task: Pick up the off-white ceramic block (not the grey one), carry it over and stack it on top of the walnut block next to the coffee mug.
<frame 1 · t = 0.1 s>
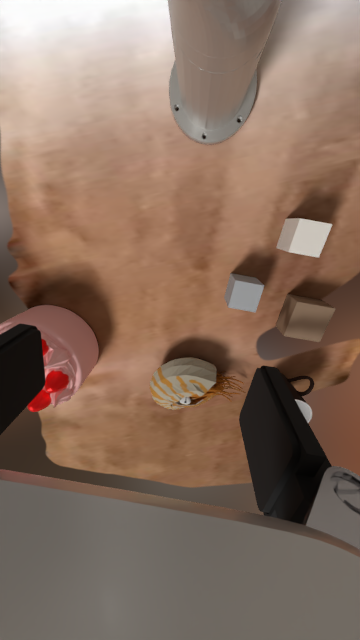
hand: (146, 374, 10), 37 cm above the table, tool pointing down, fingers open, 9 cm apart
cake: (58, 342, 53), on the table
coffee mug: (278, 380, 54), on the table
walnut block: (297, 312, 47), on the table
grey block: (239, 287, 45), on the table
ceramic block: (294, 236, 41), on the table
nautilus: (197, 376, 55), on the table
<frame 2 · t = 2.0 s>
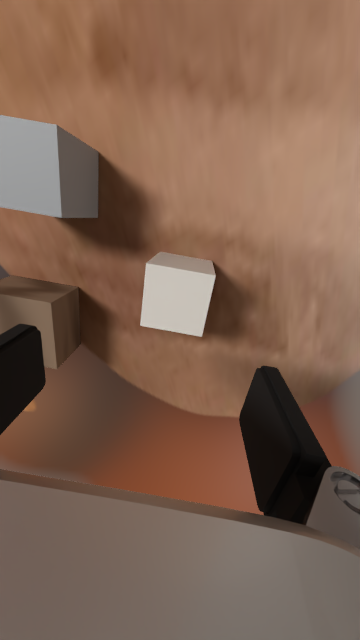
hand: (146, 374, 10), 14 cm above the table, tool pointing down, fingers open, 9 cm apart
walnut block: (49, 311, 25), on the table
grey block: (70, 181, 20), on the table
ceramic block: (181, 281, 23), on the table
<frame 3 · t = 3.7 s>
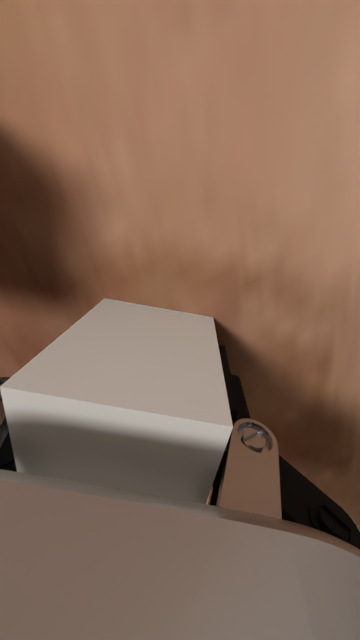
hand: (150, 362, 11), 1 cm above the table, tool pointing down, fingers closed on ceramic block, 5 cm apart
ceramic block: (152, 354, 11), on the table, touching gripper
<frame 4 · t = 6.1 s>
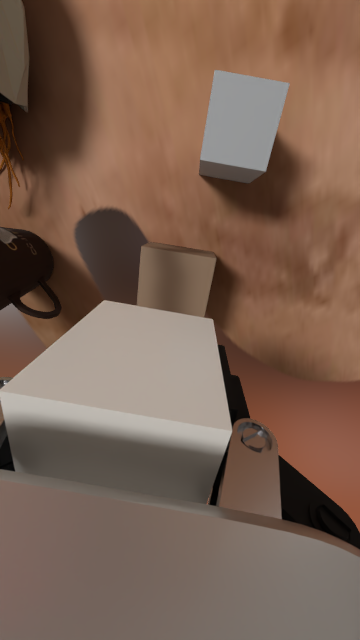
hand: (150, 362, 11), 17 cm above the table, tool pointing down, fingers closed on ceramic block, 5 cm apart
coffee mug: (37, 268, 28), on the table
walnut block: (177, 277, 27), on the table
grey block: (230, 148, 21), on the table
ceramic block: (152, 355, 11), point 17 cm above the table, touching gripper
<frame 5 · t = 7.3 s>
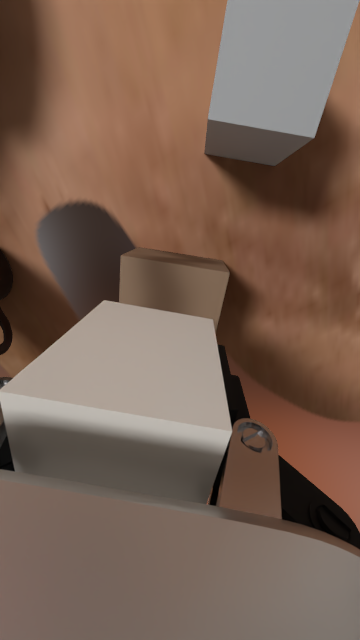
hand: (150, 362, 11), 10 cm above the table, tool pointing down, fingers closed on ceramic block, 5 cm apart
walnut block: (175, 293, 20), on the table
grey block: (249, 115, 15), on the table
ceramic block: (152, 356, 11), point 10 cm above the table, touching gripper
when the fingers open (7 cm above the table, at t = 8.4 s): ceramic block drops 1 cm, resting on walnut block.
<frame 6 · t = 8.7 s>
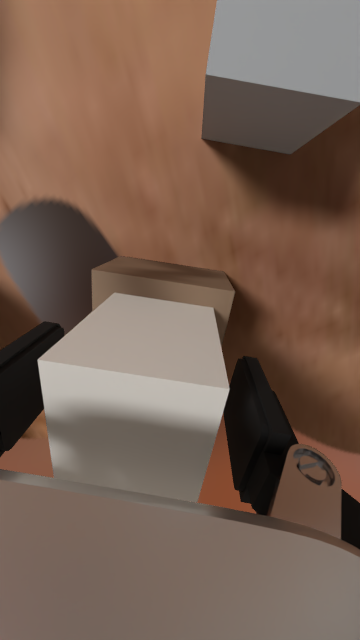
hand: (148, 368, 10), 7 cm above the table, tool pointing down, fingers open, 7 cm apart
walnut block: (167, 310, 17), on the table, touching ceramic block
grey block: (259, 87, 12), on the table
ceramic block: (158, 343, 12), point 5 cm above the table, touching walnut block
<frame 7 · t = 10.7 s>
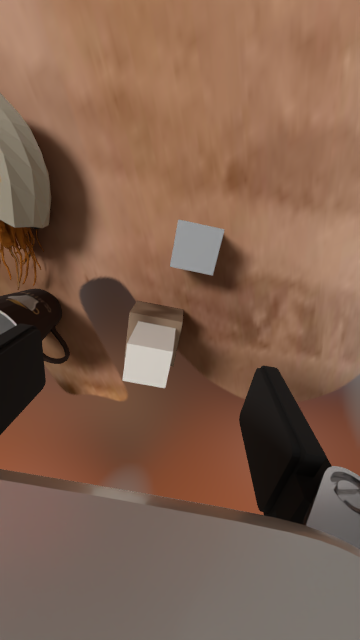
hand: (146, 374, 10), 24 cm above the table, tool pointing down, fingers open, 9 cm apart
coffee mug: (48, 316, 35), on the table
walnut block: (157, 325, 35), on the table, touching ceramic block
grey block: (194, 244, 30), on the table
ceramic block: (154, 341, 31), point 5 cm above the table, touching walnut block
nautilus: (13, 201, 29), on the table
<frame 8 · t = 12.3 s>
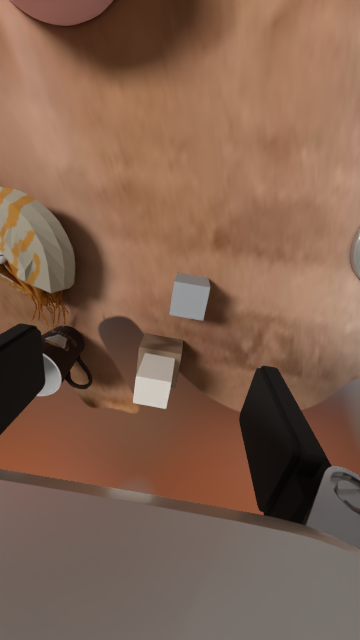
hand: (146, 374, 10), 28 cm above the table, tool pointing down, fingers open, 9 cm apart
coffee mug: (73, 346, 43), on the table
walnut block: (161, 352, 43), on the table, touching ceramic block
grey block: (190, 289, 37), on the table
ceramic block: (157, 368, 38), point 5 cm above the table, touching walnut block
nautilus: (45, 264, 38), on the table
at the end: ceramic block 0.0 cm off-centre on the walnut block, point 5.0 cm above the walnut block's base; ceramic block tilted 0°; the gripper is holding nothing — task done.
